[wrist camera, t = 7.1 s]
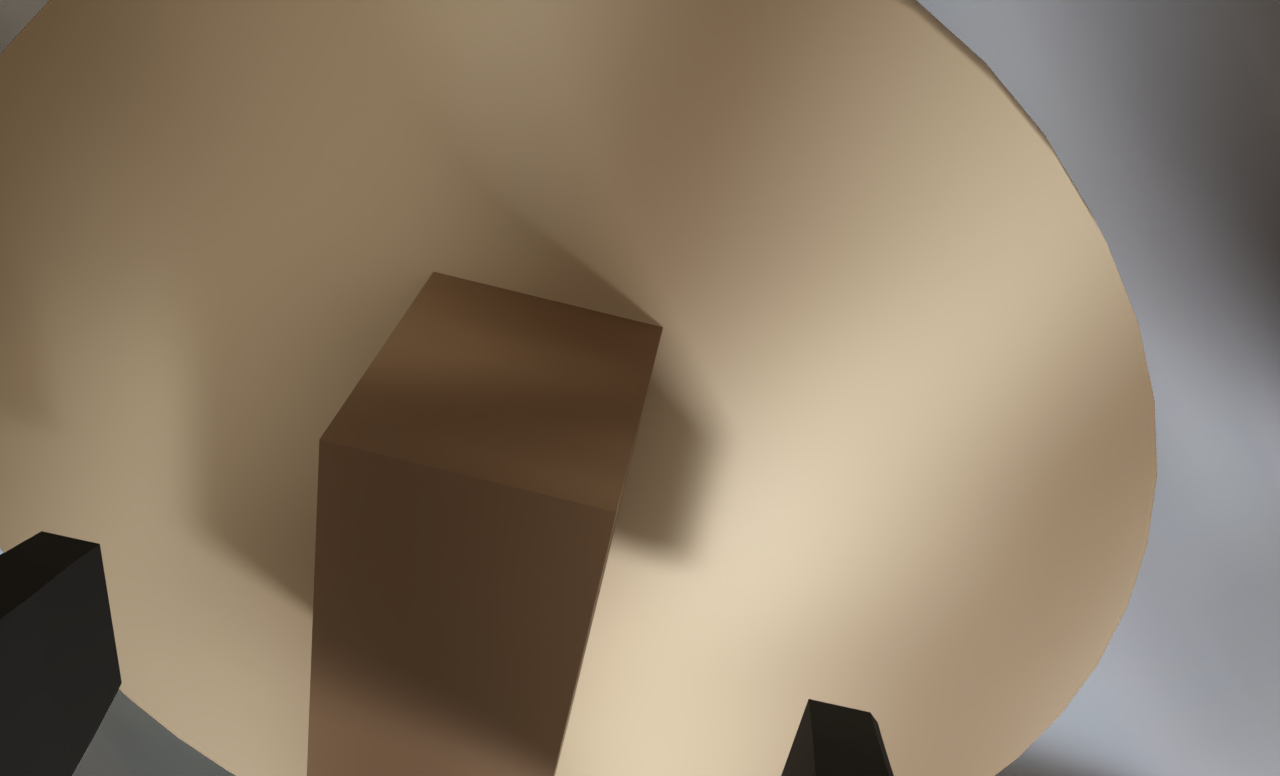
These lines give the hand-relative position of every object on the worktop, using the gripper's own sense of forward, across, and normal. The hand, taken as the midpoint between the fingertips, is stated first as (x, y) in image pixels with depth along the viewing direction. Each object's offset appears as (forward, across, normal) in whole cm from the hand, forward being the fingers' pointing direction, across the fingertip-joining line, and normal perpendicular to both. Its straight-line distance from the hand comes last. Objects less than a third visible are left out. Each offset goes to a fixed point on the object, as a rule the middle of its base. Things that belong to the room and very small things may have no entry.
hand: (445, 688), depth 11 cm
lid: (+3, 0, 0) cm, 3 cm away
